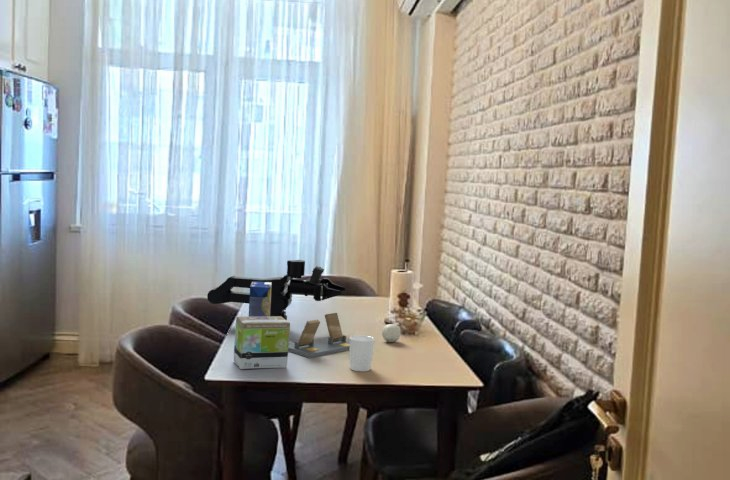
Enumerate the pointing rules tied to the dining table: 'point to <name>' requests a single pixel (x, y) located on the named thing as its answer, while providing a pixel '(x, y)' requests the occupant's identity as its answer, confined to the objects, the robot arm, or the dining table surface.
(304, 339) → the lever
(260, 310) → the beverage box
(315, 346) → the twin lever plate
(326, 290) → the robot arm
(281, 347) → the tea box
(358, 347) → the white cup
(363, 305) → the dining table surface
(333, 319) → the lever
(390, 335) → the baseball
